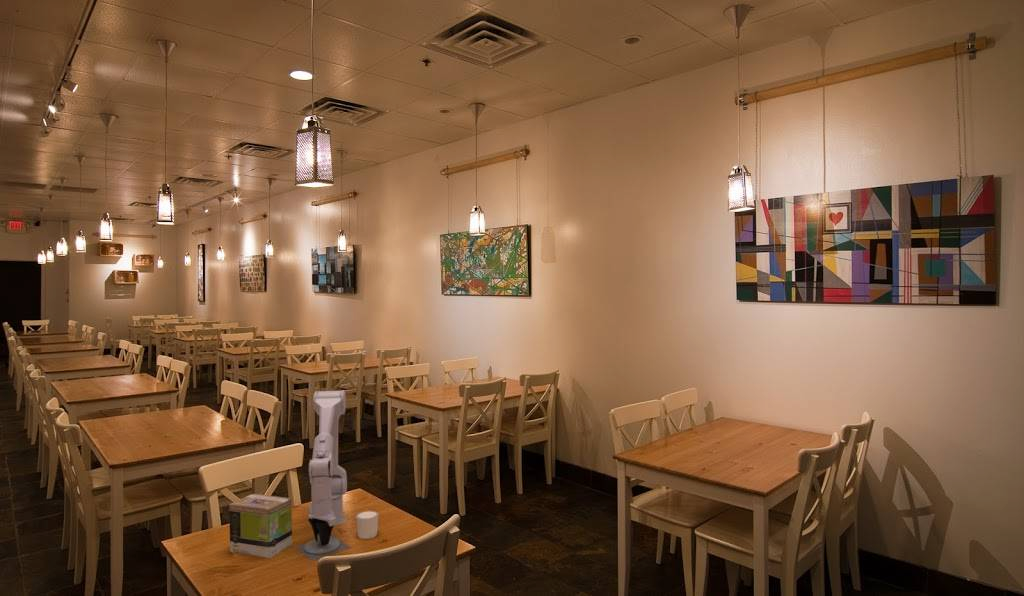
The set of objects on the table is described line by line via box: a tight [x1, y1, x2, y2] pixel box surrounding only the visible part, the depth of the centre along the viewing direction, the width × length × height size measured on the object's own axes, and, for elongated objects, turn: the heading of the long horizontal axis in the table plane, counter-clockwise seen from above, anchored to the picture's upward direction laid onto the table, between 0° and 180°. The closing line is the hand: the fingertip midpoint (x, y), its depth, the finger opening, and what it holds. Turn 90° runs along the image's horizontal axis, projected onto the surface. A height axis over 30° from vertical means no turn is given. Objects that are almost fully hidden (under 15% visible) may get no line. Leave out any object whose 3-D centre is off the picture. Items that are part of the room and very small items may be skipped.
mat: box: [294, 534, 351, 561], centre depth 172 cm, size 12×12×1 cm
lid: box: [305, 533, 340, 555], centre depth 172 cm, size 10×10×4 cm
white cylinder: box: [355, 510, 379, 540], centre depth 180 cm, size 7×7×7 cm
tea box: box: [228, 493, 293, 559], centre depth 172 cm, size 15×10×15 cm, turn 71°
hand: (322, 542), depth 172 cm, fingers closed on lid, 3 cm apart
